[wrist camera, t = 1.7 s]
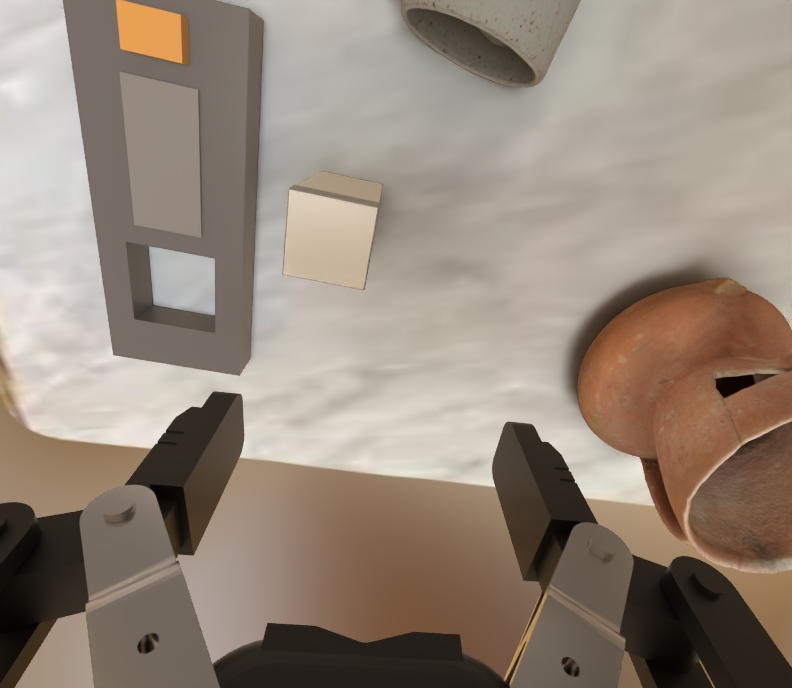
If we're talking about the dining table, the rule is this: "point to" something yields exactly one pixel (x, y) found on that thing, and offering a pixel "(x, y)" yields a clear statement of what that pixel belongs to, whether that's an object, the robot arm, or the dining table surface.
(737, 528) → the ceramic jug
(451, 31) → the ceramic mug
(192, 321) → the power strip
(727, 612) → the robot arm
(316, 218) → the block
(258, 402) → the dining table surface
